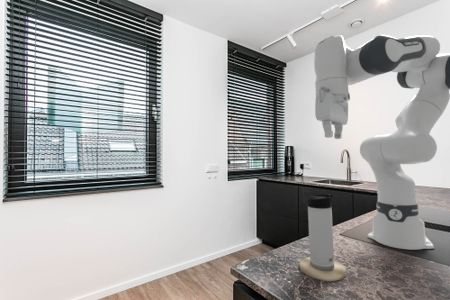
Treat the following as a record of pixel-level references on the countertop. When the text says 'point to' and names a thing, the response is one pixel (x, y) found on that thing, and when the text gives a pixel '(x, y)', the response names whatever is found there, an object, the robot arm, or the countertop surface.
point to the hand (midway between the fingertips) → (333, 138)
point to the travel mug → (320, 232)
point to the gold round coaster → (330, 275)
